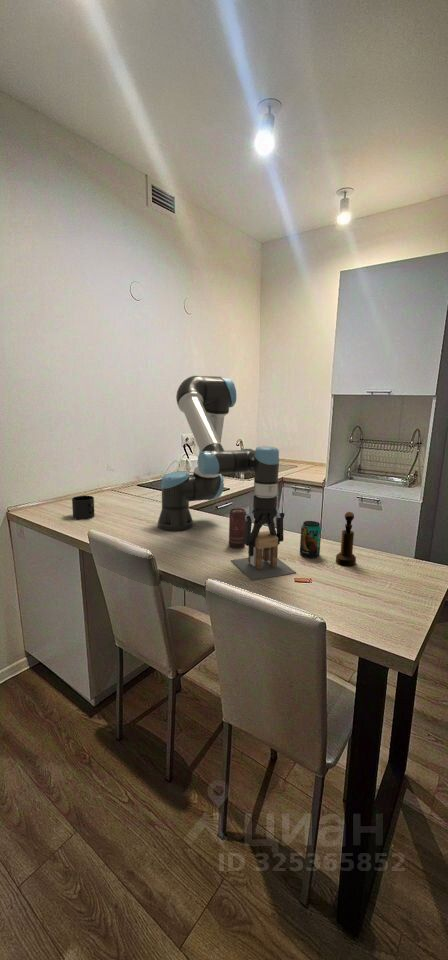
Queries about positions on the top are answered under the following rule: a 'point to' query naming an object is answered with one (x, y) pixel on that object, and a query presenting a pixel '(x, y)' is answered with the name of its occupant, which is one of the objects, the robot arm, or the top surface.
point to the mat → (265, 571)
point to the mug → (83, 507)
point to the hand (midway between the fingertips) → (262, 563)
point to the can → (236, 528)
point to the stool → (265, 549)
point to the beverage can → (310, 539)
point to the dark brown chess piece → (347, 544)
